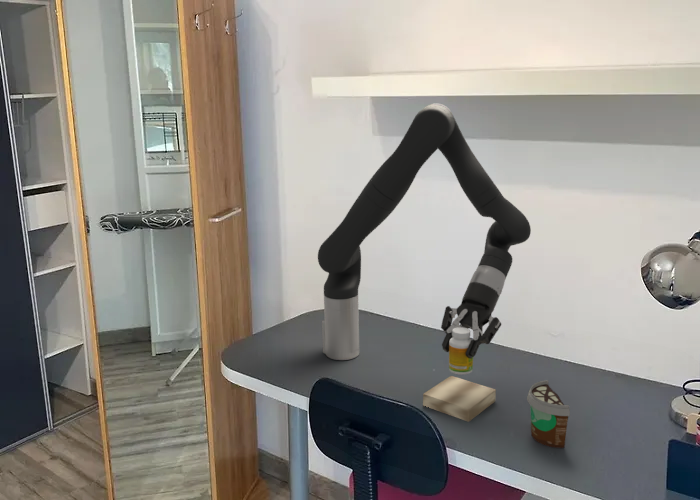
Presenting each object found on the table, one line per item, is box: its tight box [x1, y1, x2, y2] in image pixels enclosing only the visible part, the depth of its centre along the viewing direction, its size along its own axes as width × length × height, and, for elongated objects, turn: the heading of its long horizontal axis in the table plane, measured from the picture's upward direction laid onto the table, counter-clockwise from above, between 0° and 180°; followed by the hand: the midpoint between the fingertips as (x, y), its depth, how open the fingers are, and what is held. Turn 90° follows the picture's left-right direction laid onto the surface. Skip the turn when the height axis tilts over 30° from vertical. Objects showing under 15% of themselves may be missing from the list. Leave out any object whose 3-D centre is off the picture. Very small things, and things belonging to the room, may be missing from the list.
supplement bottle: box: [448, 327, 474, 375], centre depth 151 cm, size 5×5×10 cm
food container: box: [526, 379, 571, 449], centre depth 139 cm, size 12×6×10 cm, turn 5°
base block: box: [422, 375, 497, 423], centre depth 154 cm, size 12×12×3 cm
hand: (456, 353), depth 150 cm, fingers closed on supplement bottle, 5 cm apart
